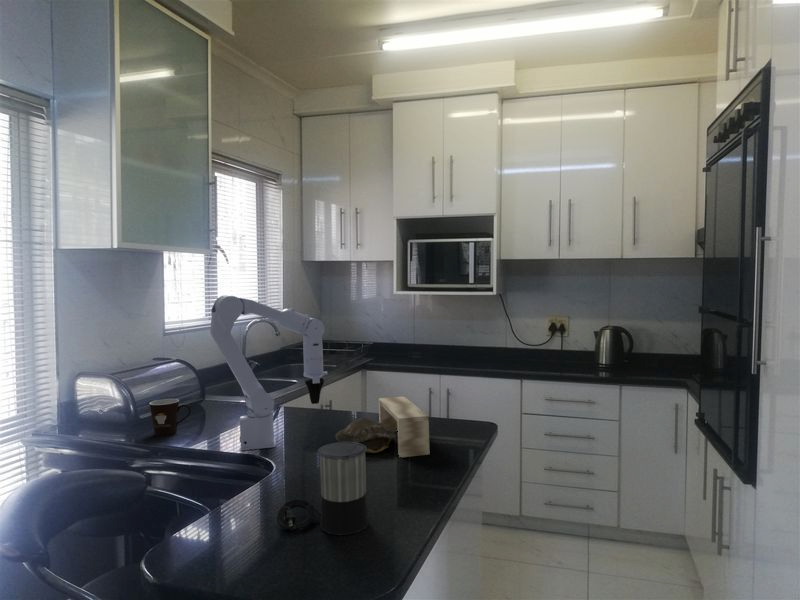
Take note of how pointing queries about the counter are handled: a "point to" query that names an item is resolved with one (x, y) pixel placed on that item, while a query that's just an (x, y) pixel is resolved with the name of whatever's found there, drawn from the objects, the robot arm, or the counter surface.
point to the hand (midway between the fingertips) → (315, 403)
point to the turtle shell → (367, 434)
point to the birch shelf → (406, 425)
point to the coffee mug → (166, 416)
